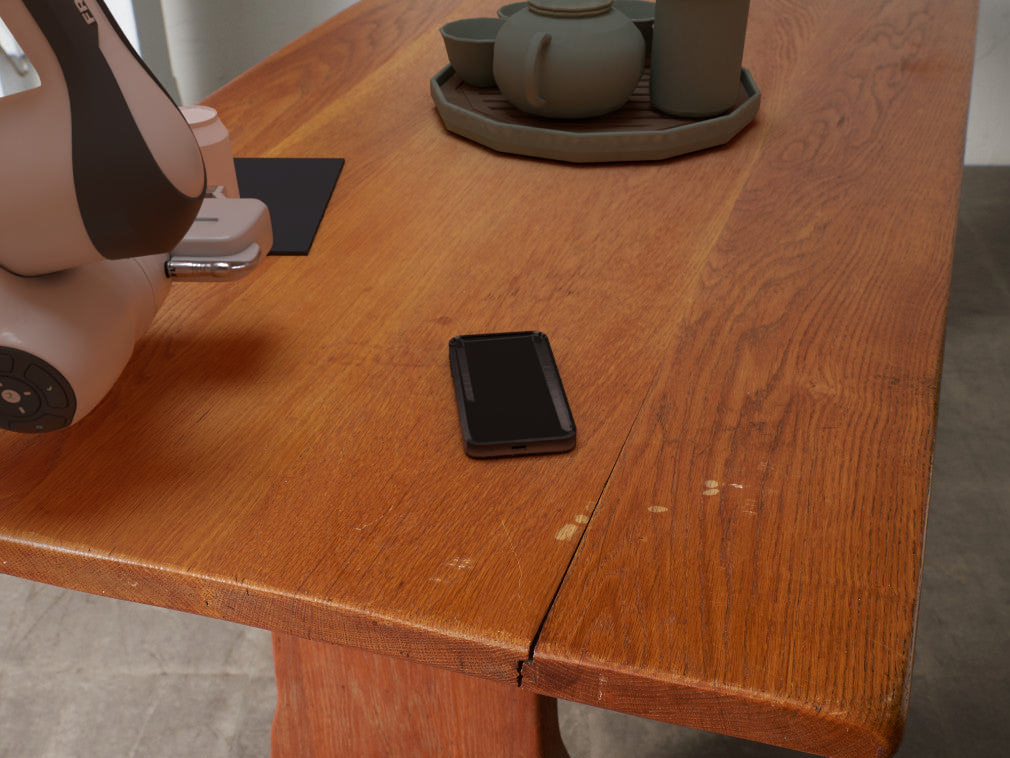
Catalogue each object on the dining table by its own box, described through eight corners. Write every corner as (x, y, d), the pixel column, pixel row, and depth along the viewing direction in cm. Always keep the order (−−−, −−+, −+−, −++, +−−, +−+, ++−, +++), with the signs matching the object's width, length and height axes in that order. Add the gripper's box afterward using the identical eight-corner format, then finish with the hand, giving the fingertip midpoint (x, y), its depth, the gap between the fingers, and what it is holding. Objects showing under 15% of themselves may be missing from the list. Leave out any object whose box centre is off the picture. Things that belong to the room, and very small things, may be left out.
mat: (114, 254, 93) (112, 250, 93) (183, 160, 112) (182, 157, 112) (307, 255, 93) (307, 251, 93) (345, 161, 112) (344, 157, 111)
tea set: (728, 64, 140) (746, -71, 130) (779, 170, 109) (806, 3, 99) (444, 63, 141) (438, -71, 131) (414, 167, 110) (403, 2, 100)
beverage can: (236, 262, 91) (210, 127, 83) (169, 259, 92) (138, 125, 84) (256, 233, 96) (234, 103, 88) (192, 231, 96) (165, 101, 89)
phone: (545, 329, 80) (579, 437, 68) (545, 342, 80) (579, 450, 69) (445, 336, 79) (463, 445, 67) (446, 348, 80) (464, 459, 68)
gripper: (244, 230, 68) (283, 156, 78) (-58, 227, 68) (22, 154, 79) (259, 314, 72) (294, 233, 82) (-27, 311, 72) (46, 230, 83)
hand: (159, 194), depth 81 cm, fingers open, 8 cm apart
